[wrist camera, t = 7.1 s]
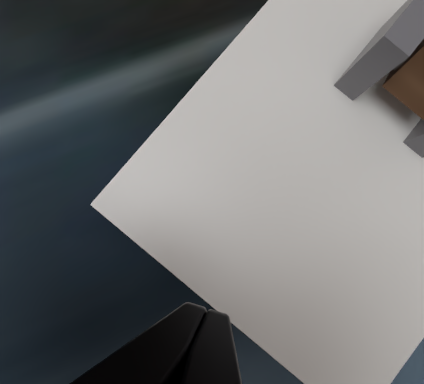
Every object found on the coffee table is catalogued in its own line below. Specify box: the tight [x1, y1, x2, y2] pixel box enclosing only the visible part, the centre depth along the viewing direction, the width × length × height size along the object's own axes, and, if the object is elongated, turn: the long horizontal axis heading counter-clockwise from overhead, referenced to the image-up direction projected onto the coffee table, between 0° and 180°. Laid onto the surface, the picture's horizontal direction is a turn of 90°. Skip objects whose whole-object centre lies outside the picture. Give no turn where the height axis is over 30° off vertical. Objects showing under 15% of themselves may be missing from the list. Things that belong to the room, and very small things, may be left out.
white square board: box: [90, 0, 424, 384], centre depth 18 cm, size 24×16×7 cm, turn 140°
